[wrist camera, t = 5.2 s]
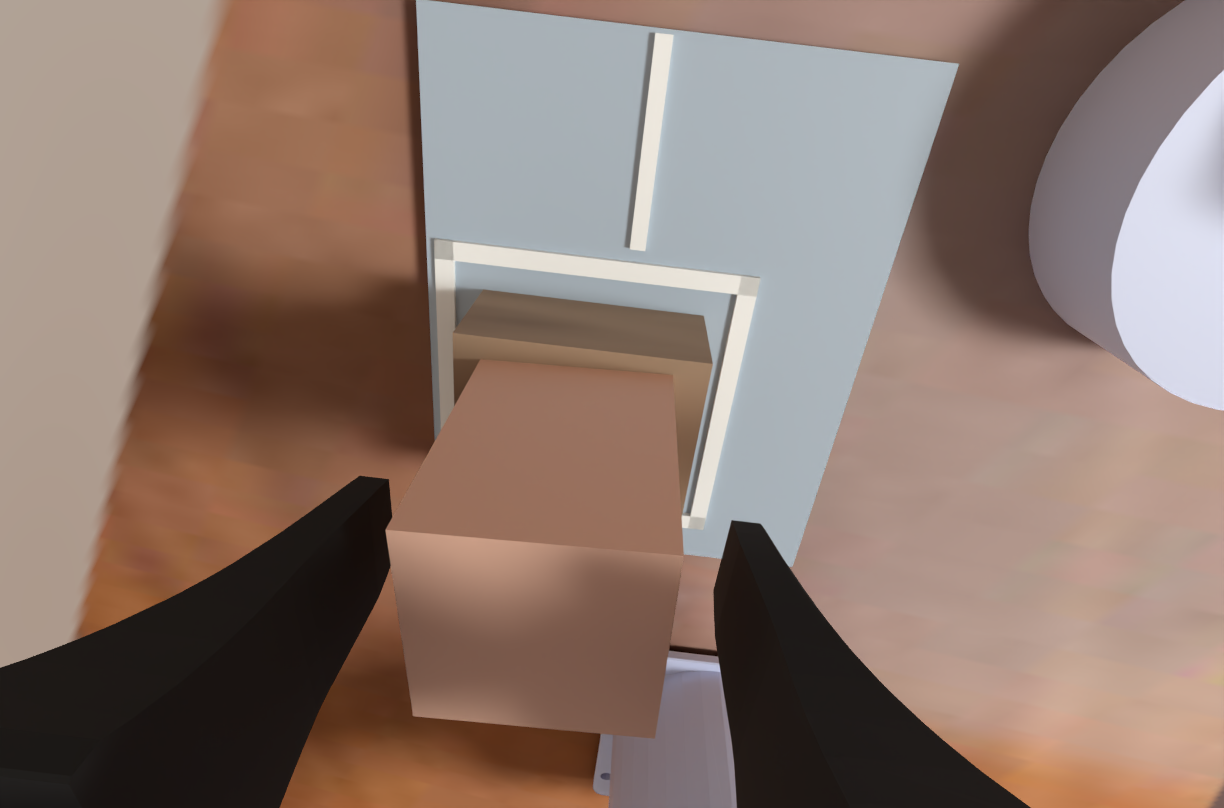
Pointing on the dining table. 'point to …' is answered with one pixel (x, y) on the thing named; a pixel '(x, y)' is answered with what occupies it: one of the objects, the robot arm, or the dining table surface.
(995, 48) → the dining table surface
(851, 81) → the board
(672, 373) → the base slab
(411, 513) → the column block
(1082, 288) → the wedge on round base
